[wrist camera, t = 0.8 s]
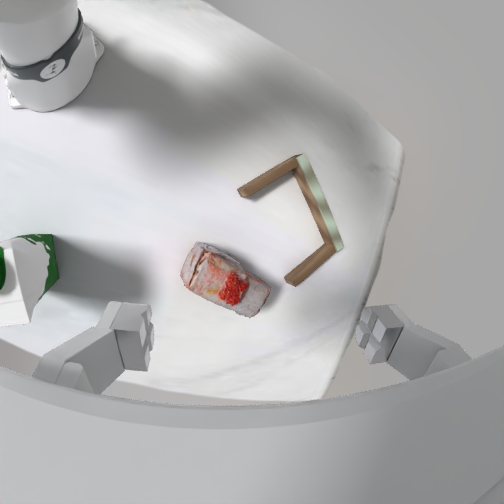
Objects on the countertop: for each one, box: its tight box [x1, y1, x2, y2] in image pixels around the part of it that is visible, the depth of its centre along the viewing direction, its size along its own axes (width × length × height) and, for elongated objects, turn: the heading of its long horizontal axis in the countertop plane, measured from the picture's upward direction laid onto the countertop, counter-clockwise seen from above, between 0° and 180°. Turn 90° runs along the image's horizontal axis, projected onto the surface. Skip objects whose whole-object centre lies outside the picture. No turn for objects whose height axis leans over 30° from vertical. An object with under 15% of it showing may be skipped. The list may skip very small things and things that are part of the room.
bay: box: [237, 153, 344, 287], centre depth 52 cm, size 21×14×4 cm, turn 30°
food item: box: [180, 242, 271, 318], centre depth 44 cm, size 14×8×10 cm, turn 58°
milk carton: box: [0, 234, 59, 327], centre depth 25 cm, size 9×9×20 cm
